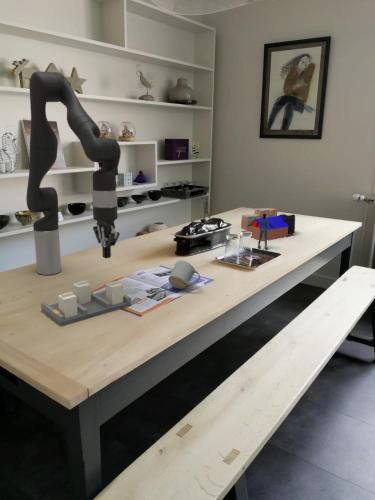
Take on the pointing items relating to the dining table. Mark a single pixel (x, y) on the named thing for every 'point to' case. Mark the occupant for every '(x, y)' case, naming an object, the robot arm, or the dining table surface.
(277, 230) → the house
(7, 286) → the dining table surface
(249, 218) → the stack of blocks
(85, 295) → the off-white rectangular block
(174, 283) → the ceramic mug
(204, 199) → the pliers
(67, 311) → the cream upright block
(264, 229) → the person figurine
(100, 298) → the switch bank
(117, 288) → the white rectangular block
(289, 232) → the pen holder
